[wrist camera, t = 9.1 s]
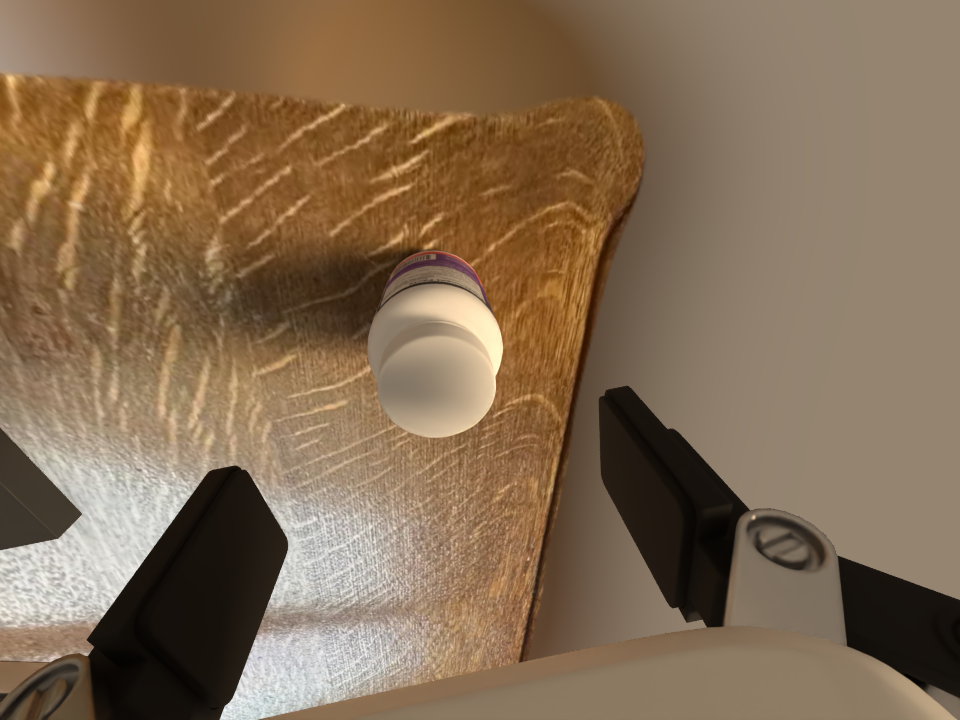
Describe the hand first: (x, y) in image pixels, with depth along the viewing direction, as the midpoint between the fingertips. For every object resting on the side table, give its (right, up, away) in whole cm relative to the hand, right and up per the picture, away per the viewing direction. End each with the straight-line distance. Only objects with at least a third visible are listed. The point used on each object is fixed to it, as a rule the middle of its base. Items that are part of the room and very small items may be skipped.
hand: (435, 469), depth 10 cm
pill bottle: (-1, +6, +11) cm, 13 cm away
